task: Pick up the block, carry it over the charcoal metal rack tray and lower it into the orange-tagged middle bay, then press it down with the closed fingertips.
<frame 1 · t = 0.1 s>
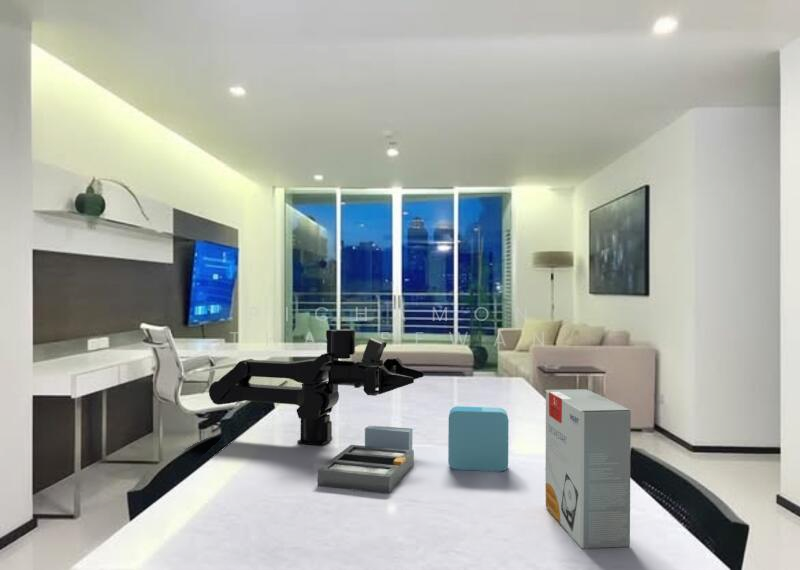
hand: (418, 377, 129), 17 cm above the table, tool horizontal, fingers open, 9 cm apart
block: (388, 455, 125), on the table
data package: (477, 468, 117), on the table
hard drive box: (584, 527, 88), on the table
rack: (368, 474, 112), on the table
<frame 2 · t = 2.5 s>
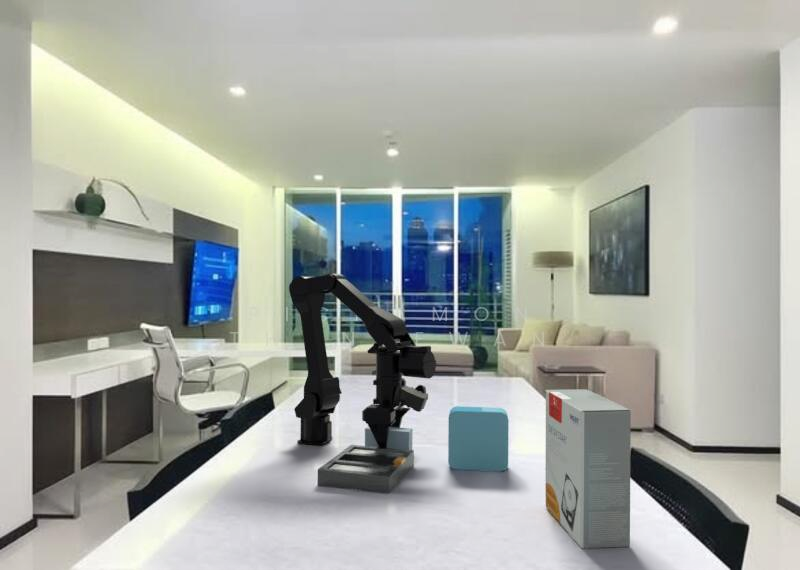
hand: (388, 445, 125), 2 cm above the table, tool pointing down, fingers open, 8 cm apart
nothing on the table moved.
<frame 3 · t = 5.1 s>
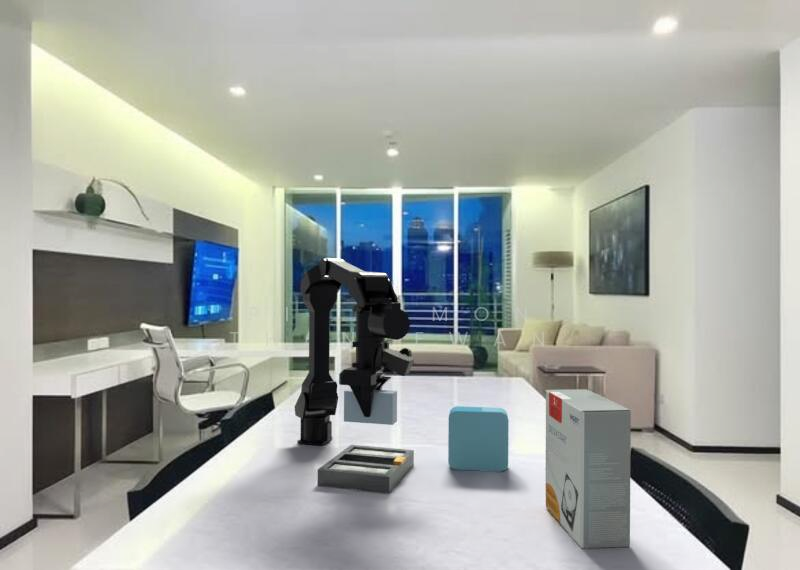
hand: (370, 415, 112), 12 cm above the table, tool pointing down, fingers closed on block, 3 cm apart
block: (370, 421, 112), point 10 cm above the table, touching gripper
everything else where it was.
when the fingers open (4 cm above the table, at t = 6.8 s): block drops 2 cm, resting in rack.
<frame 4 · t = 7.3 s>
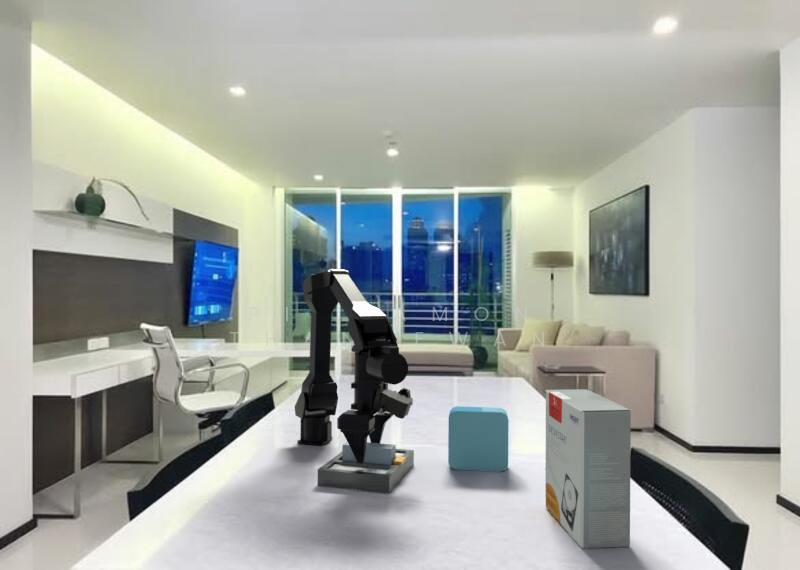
hand: (368, 456, 112), 4 cm above the table, tool pointing down, fingers open, 9 cm apart
block: (368, 475, 112), resting in rack
everything else where it was.
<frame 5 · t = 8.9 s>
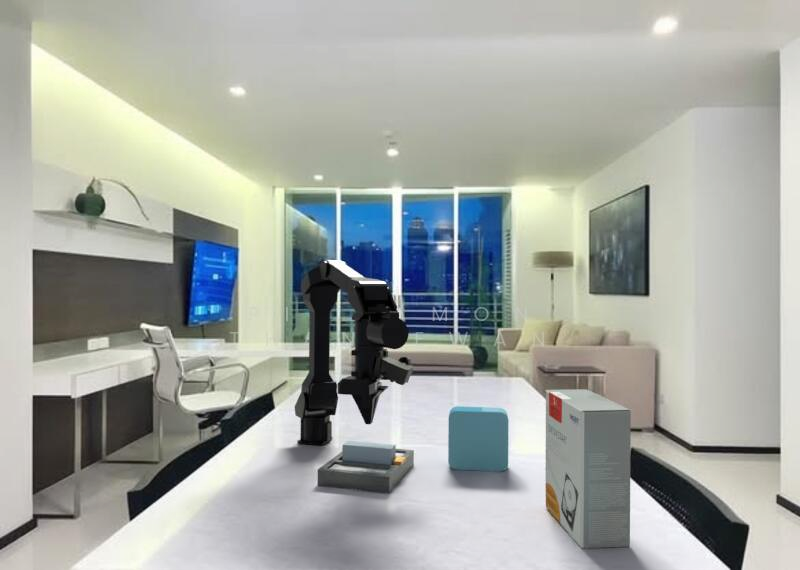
hand: (368, 423, 112), 10 cm above the table, tool pointing down, fingers closed
nothing on the table moved.
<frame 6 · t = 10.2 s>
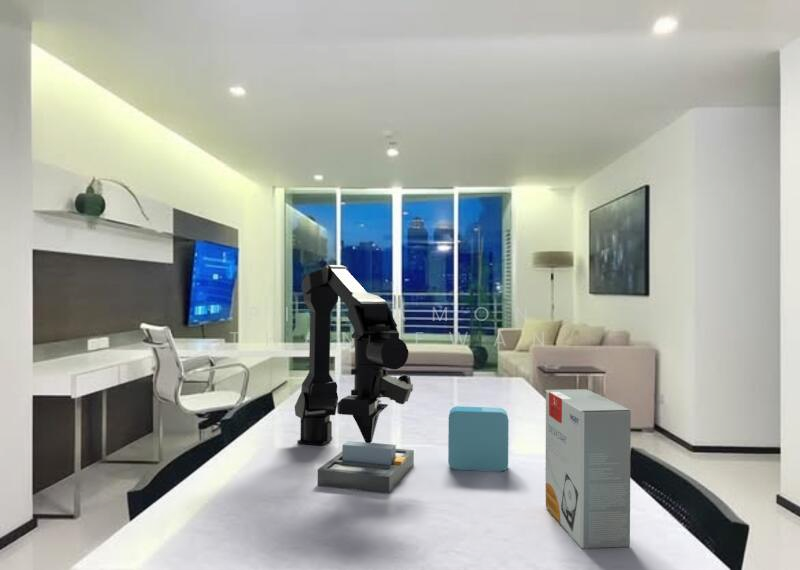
hand: (368, 442, 112), 6 cm above the table, tool pointing down, fingers closed
nothing on the table moved.
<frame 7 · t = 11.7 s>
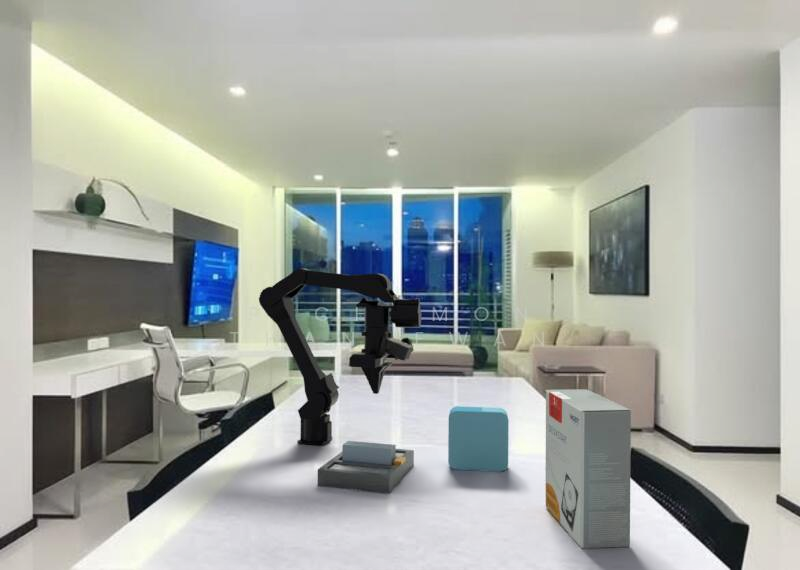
hand: (376, 393, 134), 12 cm above the table, tool pointing down, fingers closed
nothing on the table moved.
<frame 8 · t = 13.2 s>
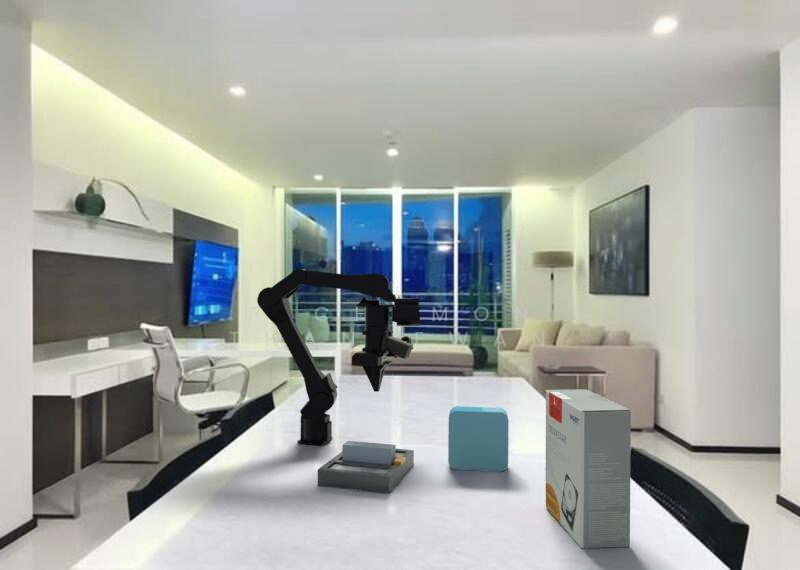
hand: (376, 391, 136), 12 cm above the table, tool pointing down, fingers closed
nothing on the table moved.
at the end: block 0.1 cm off-centre on the rack, point 0.0 cm above the rack's base; block tilted 0°; the gripper is holding nothing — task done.
